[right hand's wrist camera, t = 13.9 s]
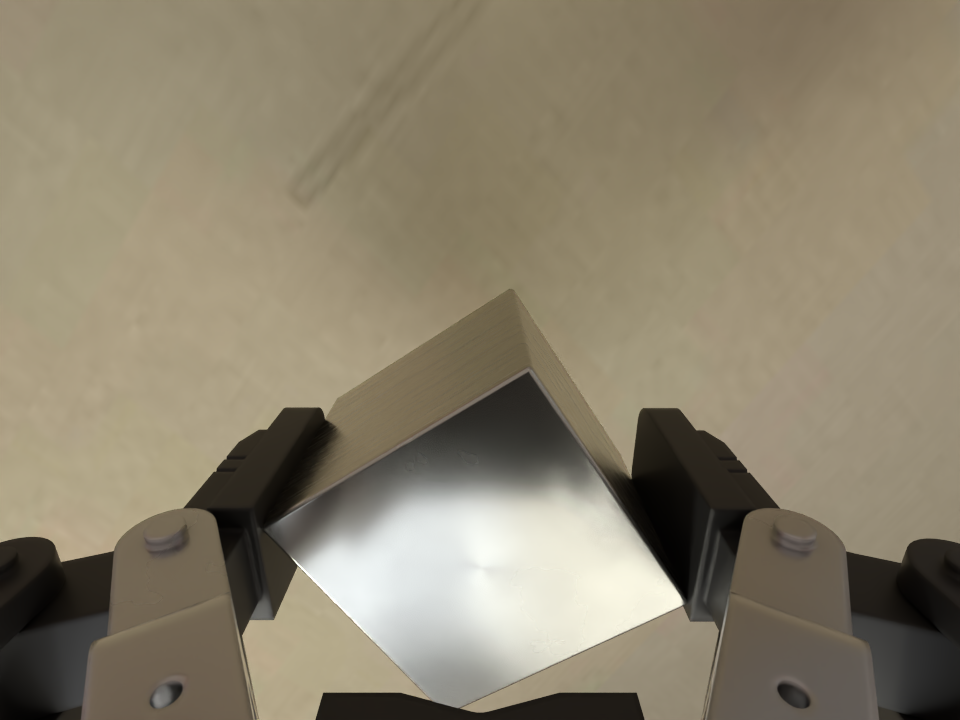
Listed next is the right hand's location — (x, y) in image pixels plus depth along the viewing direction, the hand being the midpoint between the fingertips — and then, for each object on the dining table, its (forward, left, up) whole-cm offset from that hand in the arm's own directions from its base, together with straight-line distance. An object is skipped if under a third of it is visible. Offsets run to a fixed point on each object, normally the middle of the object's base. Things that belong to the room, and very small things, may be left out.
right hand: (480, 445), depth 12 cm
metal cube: (0, 0, -1) cm, 1 cm away
